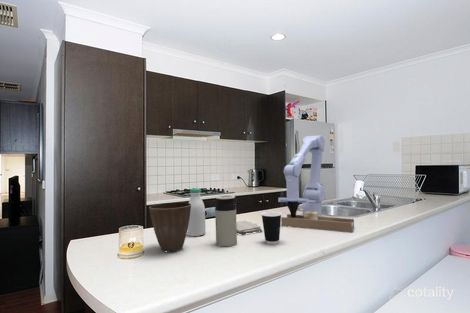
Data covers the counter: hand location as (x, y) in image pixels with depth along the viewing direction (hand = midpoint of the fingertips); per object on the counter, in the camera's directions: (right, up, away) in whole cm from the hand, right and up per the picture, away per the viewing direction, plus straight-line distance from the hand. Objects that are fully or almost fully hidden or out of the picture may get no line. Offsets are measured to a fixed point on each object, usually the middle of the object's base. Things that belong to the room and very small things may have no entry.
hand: (293, 217), depth 133 cm
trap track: (+10, -3, -6) cm, 12 cm away
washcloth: (-25, -5, -7) cm, 26 cm away
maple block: (+7, -1, -4) cm, 9 cm away
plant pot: (-52, -5, -33) cm, 61 cm away
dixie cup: (-14, -4, -28) cm, 31 cm away
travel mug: (-32, -4, -28) cm, 42 cm away
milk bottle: (-45, -5, -13) cm, 47 cm away
